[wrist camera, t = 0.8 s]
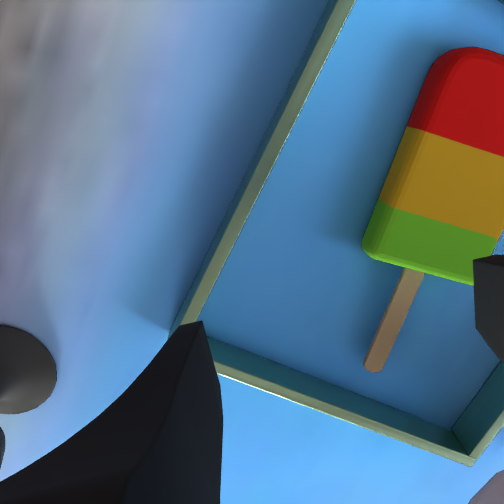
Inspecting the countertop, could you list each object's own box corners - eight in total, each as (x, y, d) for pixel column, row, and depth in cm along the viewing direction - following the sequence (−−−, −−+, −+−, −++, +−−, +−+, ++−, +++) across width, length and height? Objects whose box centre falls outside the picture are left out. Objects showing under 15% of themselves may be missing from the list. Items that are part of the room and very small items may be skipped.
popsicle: (550, 81, 20) (583, 80, 18) (412, 371, 25) (428, 394, 23) (435, 39, 19) (458, 35, 17) (314, 348, 24) (322, 370, 22)
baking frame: (697, 111, 21) (744, 114, 19) (453, 440, 26) (471, 468, 25) (377, -100, 17) (397, -122, 16) (168, 332, 23) (164, 355, 21)
